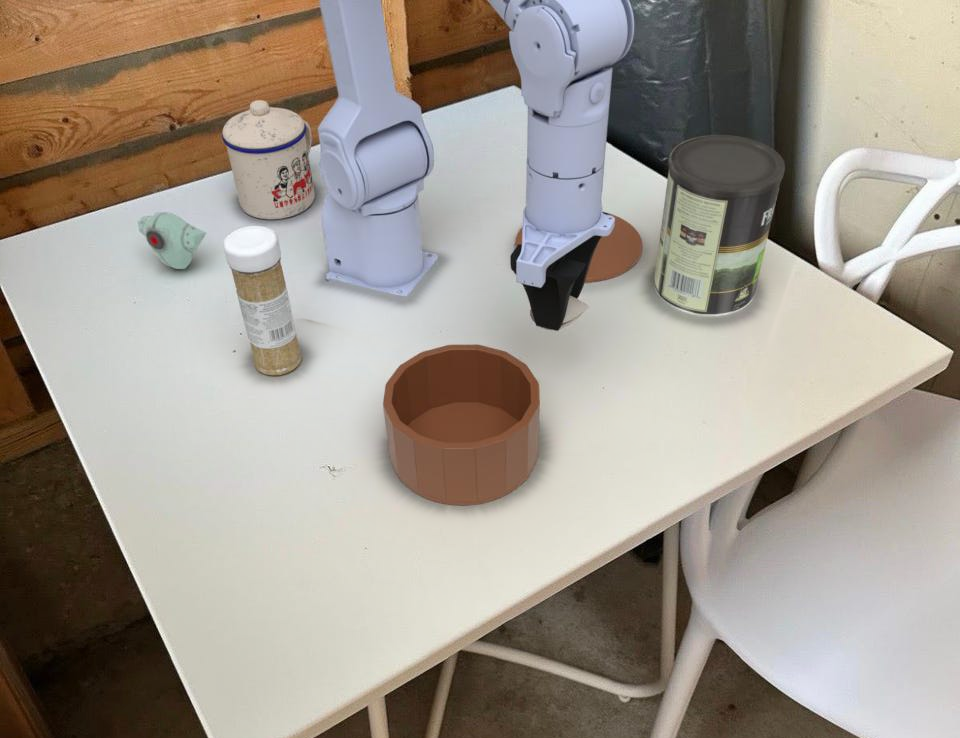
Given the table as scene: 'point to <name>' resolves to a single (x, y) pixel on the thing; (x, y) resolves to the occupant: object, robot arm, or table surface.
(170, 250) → the robot head
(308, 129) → the teacup with lid
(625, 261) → the lid
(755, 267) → the coffee can
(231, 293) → the table surface
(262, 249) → the spice jar
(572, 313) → the white teardrop
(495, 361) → the tin
